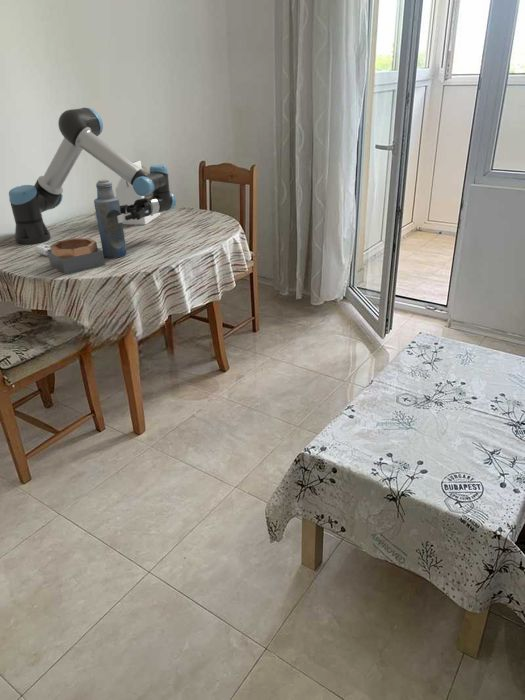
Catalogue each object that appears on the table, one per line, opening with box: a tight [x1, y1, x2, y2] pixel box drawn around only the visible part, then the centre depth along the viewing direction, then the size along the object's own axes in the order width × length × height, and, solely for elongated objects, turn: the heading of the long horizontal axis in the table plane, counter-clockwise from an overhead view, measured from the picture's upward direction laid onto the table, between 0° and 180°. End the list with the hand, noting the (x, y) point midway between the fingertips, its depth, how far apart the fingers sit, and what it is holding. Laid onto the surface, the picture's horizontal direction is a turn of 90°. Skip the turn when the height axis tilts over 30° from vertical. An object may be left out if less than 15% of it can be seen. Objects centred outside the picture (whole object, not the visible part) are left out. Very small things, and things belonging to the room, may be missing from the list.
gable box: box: [115, 159, 161, 226], centre depth 266 cm, size 22×13×28 cm, turn 169°
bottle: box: [93, 179, 128, 259], centre depth 212 cm, size 10×10×30 cm
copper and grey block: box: [46, 237, 106, 276], centre depth 206 cm, size 16×16×8 cm
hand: (106, 217), depth 210 cm, fingers open, 13 cm apart
